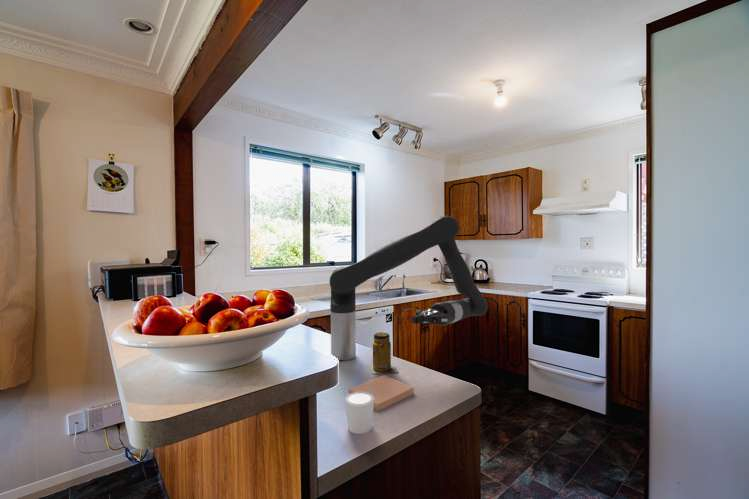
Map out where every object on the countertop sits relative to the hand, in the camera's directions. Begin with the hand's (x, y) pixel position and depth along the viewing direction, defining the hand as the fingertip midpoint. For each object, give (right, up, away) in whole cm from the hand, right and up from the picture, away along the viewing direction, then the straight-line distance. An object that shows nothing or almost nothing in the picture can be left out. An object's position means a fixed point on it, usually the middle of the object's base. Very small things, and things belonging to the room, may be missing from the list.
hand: (413, 320), depth 105 cm
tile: (-5, -18, -4) cm, 19 cm away
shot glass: (-16, -20, -25) cm, 36 cm away
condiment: (-9, -19, +9) cm, 22 cm away
